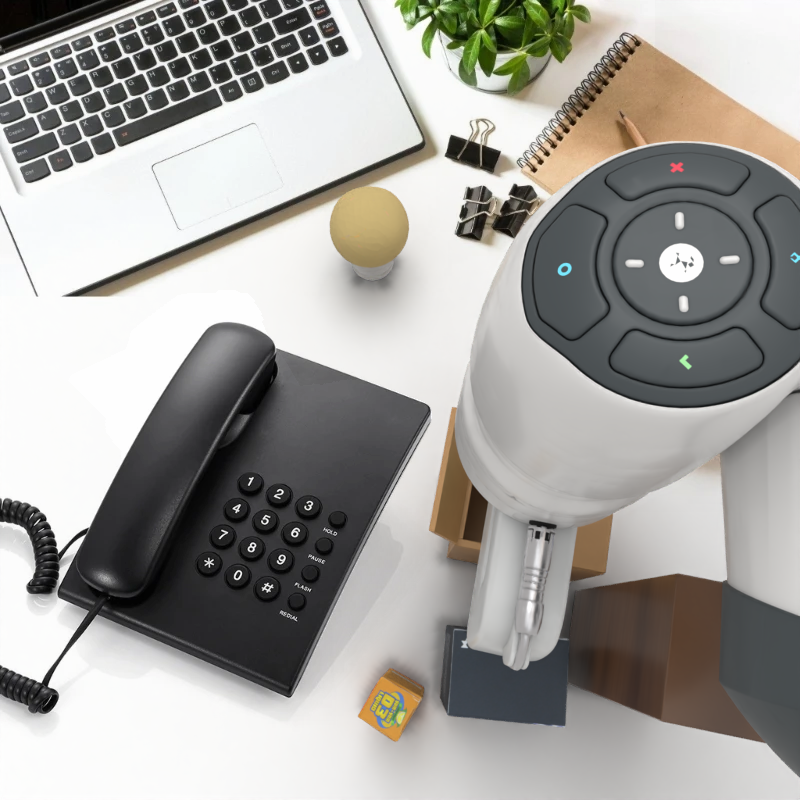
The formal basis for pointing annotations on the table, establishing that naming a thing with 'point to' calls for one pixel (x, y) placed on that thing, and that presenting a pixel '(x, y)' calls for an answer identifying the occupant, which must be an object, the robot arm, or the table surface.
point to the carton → (586, 552)
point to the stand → (656, 651)
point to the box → (503, 684)
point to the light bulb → (369, 230)
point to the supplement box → (392, 704)
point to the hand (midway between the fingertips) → (517, 476)
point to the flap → (449, 489)
